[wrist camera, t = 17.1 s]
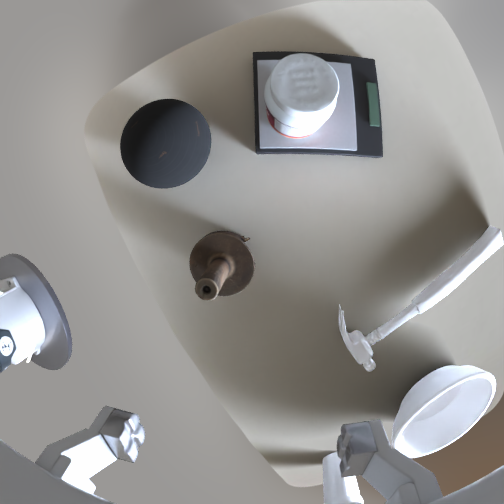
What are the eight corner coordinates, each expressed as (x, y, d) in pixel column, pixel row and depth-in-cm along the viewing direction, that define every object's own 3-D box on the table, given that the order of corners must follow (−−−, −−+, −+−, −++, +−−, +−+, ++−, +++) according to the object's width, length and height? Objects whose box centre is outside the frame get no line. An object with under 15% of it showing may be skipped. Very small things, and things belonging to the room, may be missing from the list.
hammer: (324, 312, 36) (328, 323, 33) (478, 190, 30) (490, 192, 27) (362, 364, 38) (367, 376, 35) (498, 254, 32) (509, 259, 29)
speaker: (236, 140, 32) (220, 126, 22) (184, 202, 34) (151, 213, 24) (178, 95, 30) (145, 71, 21) (131, 155, 33) (87, 152, 23)
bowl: (487, 373, 38) (505, 395, 30) (412, 439, 44) (421, 465, 36) (453, 325, 36) (478, 351, 28) (358, 410, 41) (367, 444, 33)
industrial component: (242, 213, 34) (226, 233, 22) (269, 264, 35) (266, 307, 24) (179, 246, 36) (139, 279, 24) (206, 293, 37) (179, 341, 26)
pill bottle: (272, 84, 27) (270, 39, 16) (325, 96, 27) (350, 58, 16) (261, 133, 29) (254, 109, 18) (316, 145, 29) (339, 129, 18)
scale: (256, 154, 32) (255, 152, 29) (254, 58, 28) (252, 50, 26) (377, 158, 31) (384, 156, 28) (369, 64, 27) (376, 57, 25)
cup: (350, 463, 46) (358, 511, 33) (316, 467, 47) (319, 516, 33) (357, 445, 44) (368, 498, 31) (320, 449, 45) (325, 505, 31)
